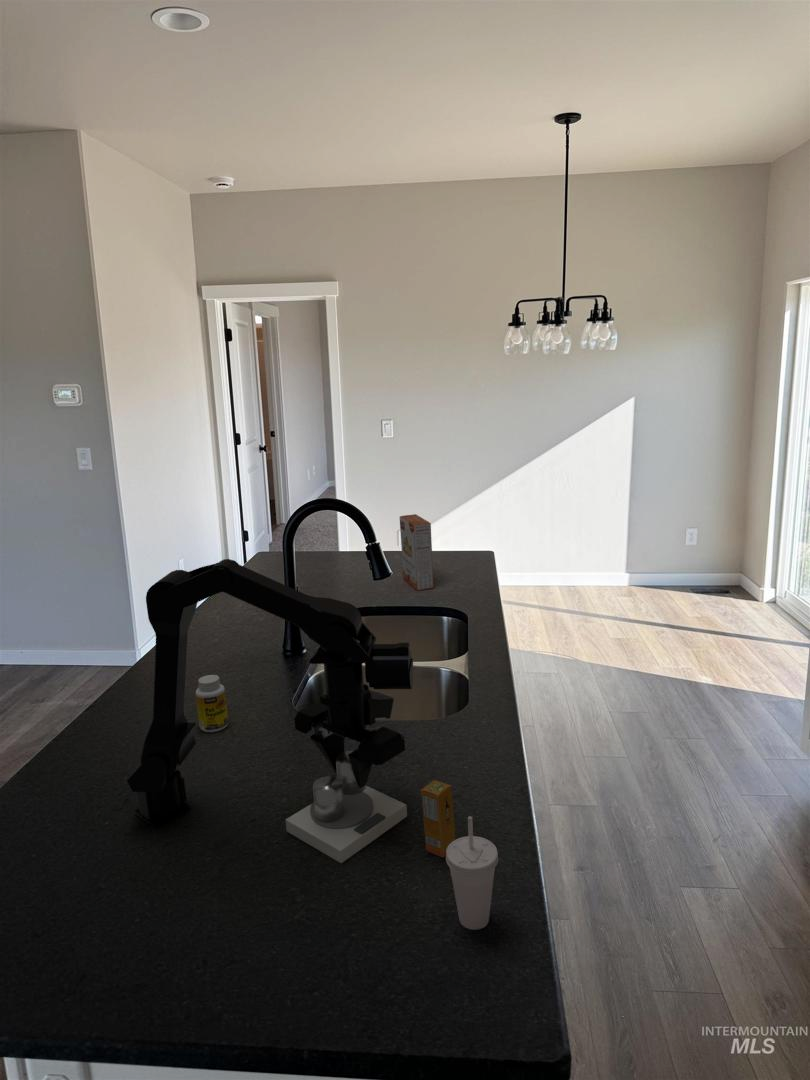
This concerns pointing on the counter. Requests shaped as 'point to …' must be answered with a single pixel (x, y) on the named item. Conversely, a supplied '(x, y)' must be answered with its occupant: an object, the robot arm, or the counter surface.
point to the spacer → (328, 799)
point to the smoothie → (472, 877)
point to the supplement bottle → (211, 704)
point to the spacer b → (347, 775)
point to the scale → (348, 824)
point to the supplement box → (438, 817)
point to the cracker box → (416, 551)
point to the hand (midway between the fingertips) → (351, 781)
